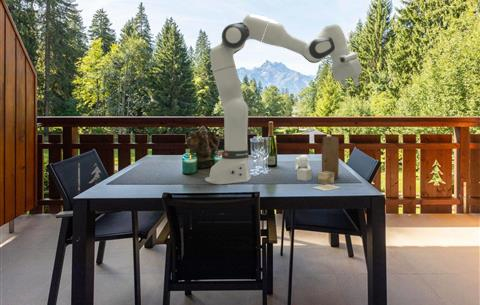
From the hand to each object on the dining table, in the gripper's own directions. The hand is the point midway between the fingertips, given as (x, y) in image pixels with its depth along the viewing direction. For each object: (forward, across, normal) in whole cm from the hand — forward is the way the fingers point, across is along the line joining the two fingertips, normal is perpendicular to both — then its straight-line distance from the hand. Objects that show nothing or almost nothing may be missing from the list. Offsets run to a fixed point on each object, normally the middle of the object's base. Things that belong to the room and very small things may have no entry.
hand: (351, 87), depth 177 cm
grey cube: (+33, -6, -35) cm, 49 cm away
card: (+35, +13, -34) cm, 50 cm away
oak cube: (+36, +4, -30) cm, 47 cm away
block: (+38, -7, -23) cm, 44 cm away
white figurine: (+34, -32, -26) cm, 53 cm away
